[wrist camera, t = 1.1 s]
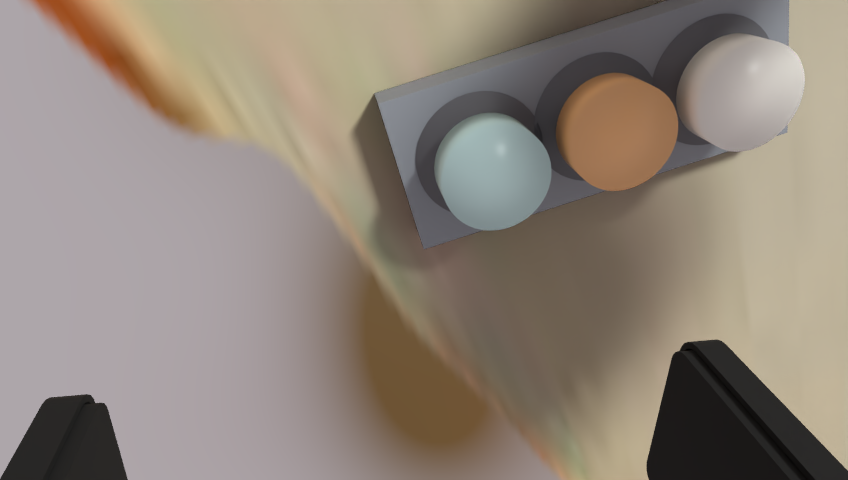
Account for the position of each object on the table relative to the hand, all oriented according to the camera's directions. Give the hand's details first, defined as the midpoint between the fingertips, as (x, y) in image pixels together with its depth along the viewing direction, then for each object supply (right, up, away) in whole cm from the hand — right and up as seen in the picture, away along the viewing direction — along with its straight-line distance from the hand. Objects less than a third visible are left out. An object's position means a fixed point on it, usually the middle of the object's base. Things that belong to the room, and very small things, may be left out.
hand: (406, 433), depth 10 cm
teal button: (+3, +7, +19) cm, 21 cm away
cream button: (+15, +11, +19) cm, 26 cm away
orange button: (+9, +9, +19) cm, 23 cm away
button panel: (+8, +10, +22) cm, 26 cm away
